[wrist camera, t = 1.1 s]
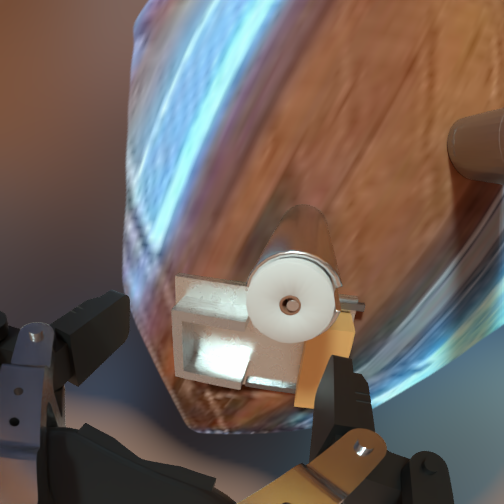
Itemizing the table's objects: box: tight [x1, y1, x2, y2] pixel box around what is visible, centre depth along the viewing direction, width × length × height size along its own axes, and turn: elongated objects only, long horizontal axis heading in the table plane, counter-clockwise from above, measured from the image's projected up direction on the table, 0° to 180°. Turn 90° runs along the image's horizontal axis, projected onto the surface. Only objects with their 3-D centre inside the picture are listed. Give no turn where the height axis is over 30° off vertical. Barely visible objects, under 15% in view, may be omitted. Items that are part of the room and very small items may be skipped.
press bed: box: [171, 273, 365, 394], centre depth 45 cm, size 28×18×6 cm, turn 86°
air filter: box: [246, 205, 342, 344], centre depth 31 cm, size 6×6×25 cm
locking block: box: [294, 312, 355, 409], centre depth 43 cm, size 6×14×6 cm, turn 176°
